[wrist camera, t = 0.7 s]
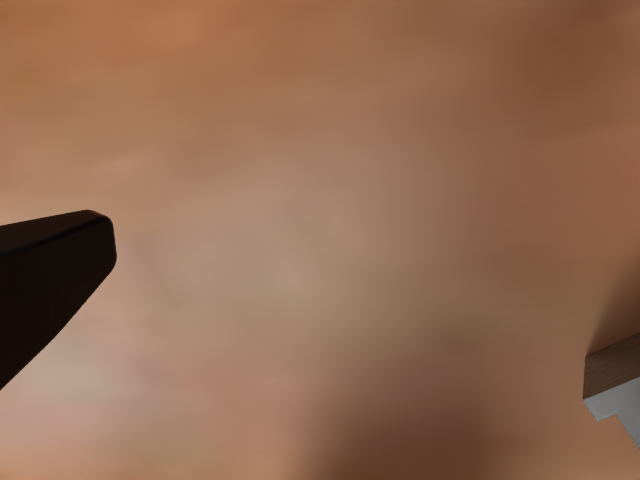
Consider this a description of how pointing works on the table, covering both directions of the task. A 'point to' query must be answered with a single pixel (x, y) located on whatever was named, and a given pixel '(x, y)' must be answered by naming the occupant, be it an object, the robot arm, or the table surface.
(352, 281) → the table surface
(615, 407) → the rack
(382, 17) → the table surface
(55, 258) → the robot arm
